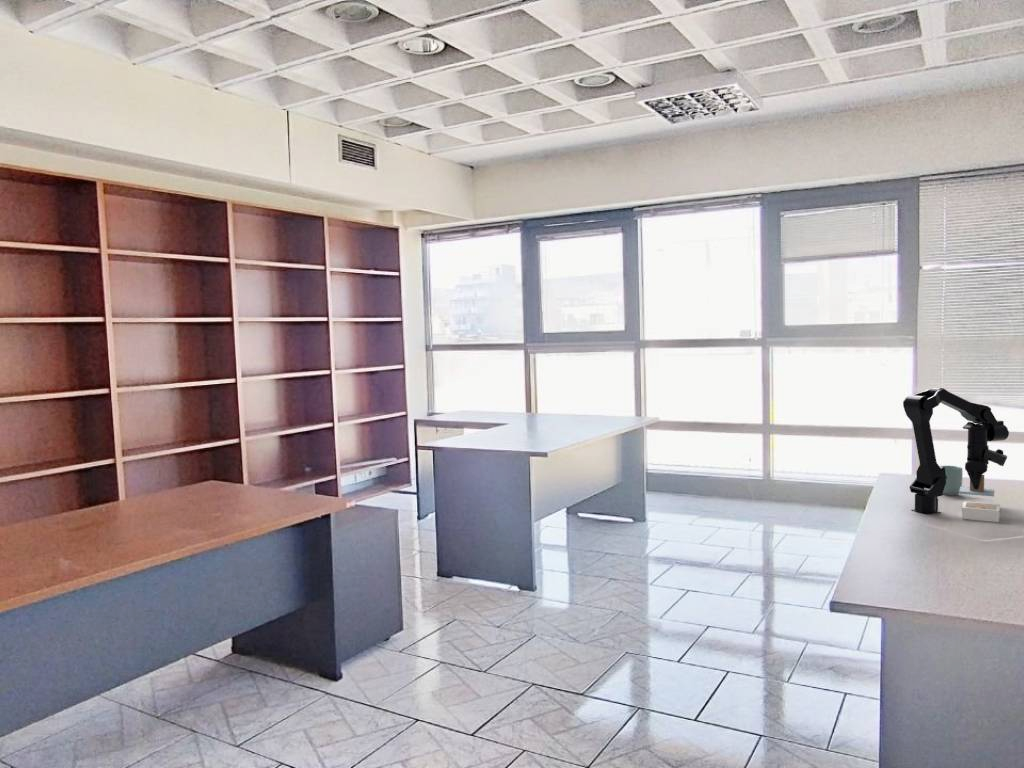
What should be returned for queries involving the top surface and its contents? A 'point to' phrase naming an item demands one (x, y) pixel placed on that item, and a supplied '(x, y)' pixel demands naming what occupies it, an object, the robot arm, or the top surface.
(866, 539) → the top surface
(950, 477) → the cup
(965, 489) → the lid
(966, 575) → the top surface
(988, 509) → the box
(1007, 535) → the top surface
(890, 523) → the top surface
